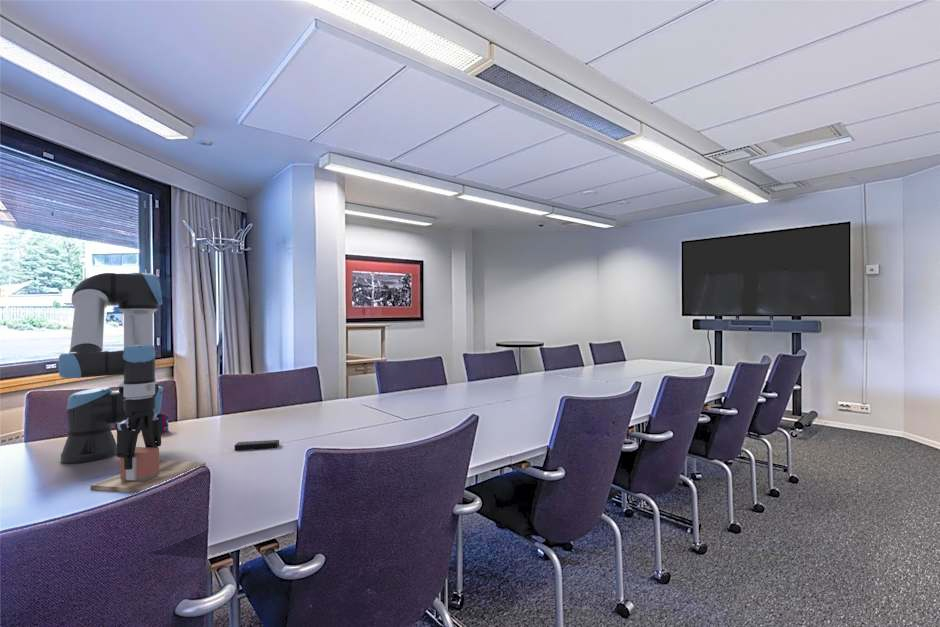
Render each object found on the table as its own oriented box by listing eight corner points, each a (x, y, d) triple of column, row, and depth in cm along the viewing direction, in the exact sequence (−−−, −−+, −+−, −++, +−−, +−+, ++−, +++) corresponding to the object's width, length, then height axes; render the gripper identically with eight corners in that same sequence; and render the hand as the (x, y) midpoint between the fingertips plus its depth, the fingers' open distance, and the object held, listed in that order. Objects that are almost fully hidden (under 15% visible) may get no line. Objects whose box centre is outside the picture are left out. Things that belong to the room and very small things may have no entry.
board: (90, 489, 126) (90, 485, 126) (157, 463, 147) (157, 459, 147) (145, 493, 123) (145, 488, 123) (205, 466, 144) (205, 462, 144)
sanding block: (120, 479, 129) (120, 451, 129) (136, 473, 134) (135, 446, 134) (144, 480, 128) (144, 453, 128) (159, 474, 133) (159, 447, 133)
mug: (163, 434, 184) (163, 417, 184) (136, 435, 183) (136, 418, 183) (171, 429, 191) (171, 414, 191) (145, 431, 189) (145, 415, 189)
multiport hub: (276, 449, 164) (276, 442, 164) (234, 451, 161) (234, 445, 161) (279, 445, 168) (279, 439, 168) (238, 448, 165) (238, 441, 165)
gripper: (122, 403, 122) (122, 488, 121) (175, 392, 139) (176, 466, 139) (98, 402, 123) (99, 487, 123) (154, 391, 141) (155, 465, 141)
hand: (140, 476), depth 131 cm, fingers closed on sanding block, 5 cm apart
